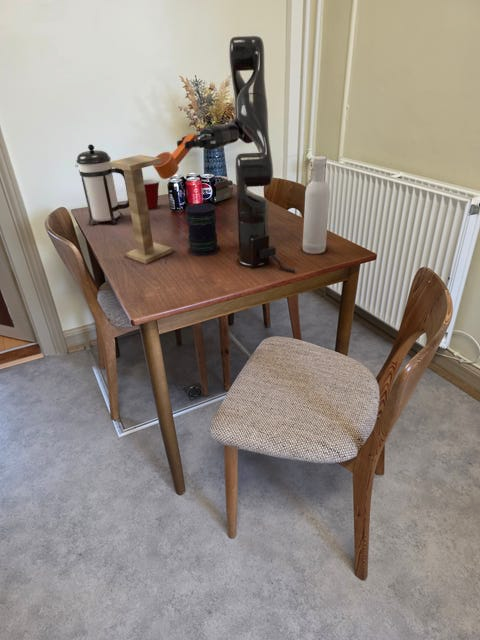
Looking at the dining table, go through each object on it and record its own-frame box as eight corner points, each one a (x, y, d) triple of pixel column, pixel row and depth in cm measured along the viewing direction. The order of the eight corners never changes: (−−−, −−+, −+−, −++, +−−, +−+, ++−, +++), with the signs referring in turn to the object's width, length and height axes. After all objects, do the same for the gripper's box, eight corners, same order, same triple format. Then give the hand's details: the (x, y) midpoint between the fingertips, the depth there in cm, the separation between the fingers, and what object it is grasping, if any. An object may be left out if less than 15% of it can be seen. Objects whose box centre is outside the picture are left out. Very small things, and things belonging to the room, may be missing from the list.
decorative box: (241, 199, 197) (240, 178, 191) (208, 209, 185) (207, 187, 180) (222, 194, 205) (221, 173, 200) (190, 203, 193) (188, 182, 188)
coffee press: (97, 230, 167) (80, 150, 151) (82, 220, 178) (64, 144, 162) (136, 219, 176) (124, 143, 160) (119, 211, 187) (106, 138, 171)
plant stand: (153, 245, 151) (139, 154, 135) (172, 251, 146) (160, 158, 129) (126, 256, 144) (108, 161, 127) (146, 263, 138) (129, 165, 122)
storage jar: (192, 257, 141) (188, 213, 134) (187, 246, 150) (182, 205, 142) (221, 253, 144) (218, 210, 136) (214, 242, 152) (211, 201, 144)
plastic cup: (165, 203, 194) (162, 177, 188) (159, 211, 185) (156, 183, 179) (143, 204, 195) (139, 177, 189) (136, 211, 186) (131, 183, 180)
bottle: (318, 243, 148) (324, 153, 132) (330, 251, 142) (338, 158, 126) (298, 247, 146) (302, 156, 130) (309, 255, 139) (314, 161, 123)
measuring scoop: (187, 139, 146) (181, 126, 142) (202, 140, 143) (196, 127, 139) (156, 177, 141) (148, 165, 137) (170, 180, 137) (162, 167, 133)
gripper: (200, 124, 154) (165, 131, 142) (230, 126, 146) (195, 134, 135) (202, 146, 158) (168, 154, 146) (231, 149, 150) (197, 159, 139)
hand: (181, 145), depth 141 cm, fingers closed on measuring scoop, 3 cm apart
